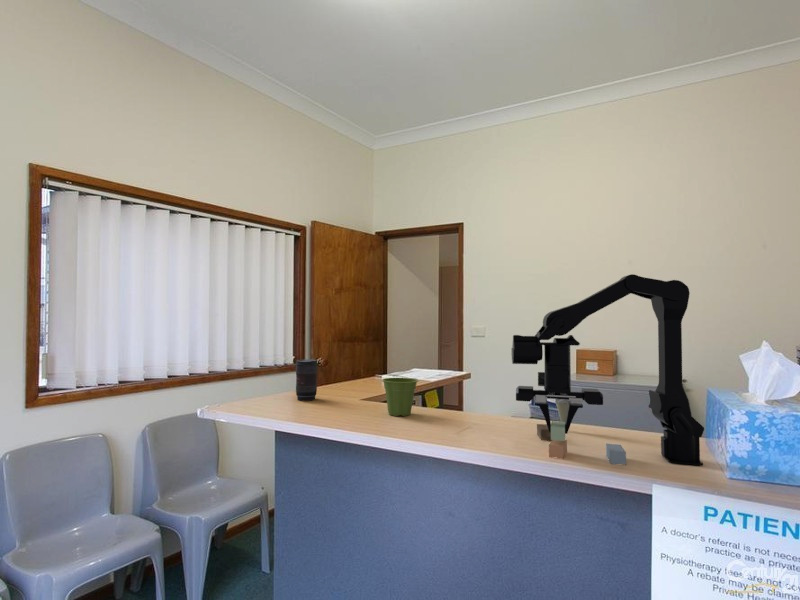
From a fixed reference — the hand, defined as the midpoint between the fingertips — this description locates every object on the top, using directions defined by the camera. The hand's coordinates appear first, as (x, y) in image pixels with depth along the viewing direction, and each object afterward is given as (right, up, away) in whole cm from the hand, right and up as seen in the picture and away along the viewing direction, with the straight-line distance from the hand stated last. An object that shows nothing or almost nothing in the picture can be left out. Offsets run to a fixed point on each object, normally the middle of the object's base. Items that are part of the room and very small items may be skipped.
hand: (558, 432), depth 106 cm
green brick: (0, -1, 0) cm, 1 cm away
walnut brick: (+2, -6, +15) cm, 16 cm away
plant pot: (-36, -7, +43) cm, 57 cm away
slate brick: (+11, -5, -5) cm, 13 cm away
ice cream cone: (+9, -6, +22) cm, 25 cm away
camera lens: (-72, -8, +70) cm, 101 cm away
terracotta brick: (0, -5, 0) cm, 5 cm away
